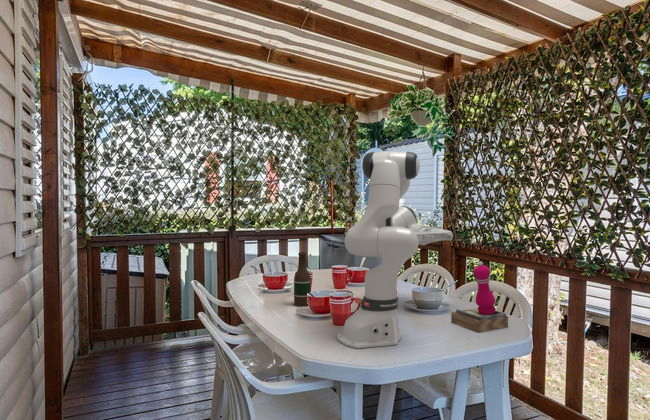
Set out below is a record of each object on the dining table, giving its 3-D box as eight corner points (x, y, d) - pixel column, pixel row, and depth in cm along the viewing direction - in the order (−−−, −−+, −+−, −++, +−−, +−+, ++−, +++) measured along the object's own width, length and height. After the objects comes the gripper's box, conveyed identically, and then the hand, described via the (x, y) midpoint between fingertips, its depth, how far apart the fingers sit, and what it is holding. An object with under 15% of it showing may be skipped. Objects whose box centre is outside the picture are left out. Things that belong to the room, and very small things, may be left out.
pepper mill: (498, 314, 165) (491, 263, 163) (478, 316, 167) (471, 265, 165) (494, 307, 172) (488, 258, 170) (475, 309, 174) (469, 260, 172)
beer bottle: (304, 307, 195) (304, 253, 194) (290, 305, 199) (290, 252, 198) (314, 304, 201) (314, 251, 201) (300, 301, 206) (300, 250, 205)
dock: (478, 332, 159) (478, 318, 159) (451, 322, 172) (451, 309, 172) (507, 326, 166) (508, 313, 166) (479, 317, 179) (480, 305, 178)
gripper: (402, 228, 191) (422, 231, 179) (439, 227, 200) (461, 229, 188) (402, 243, 192) (422, 246, 179) (439, 240, 201) (461, 243, 188)
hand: (442, 237), depth 184 cm, fingers open, 8 cm apart
